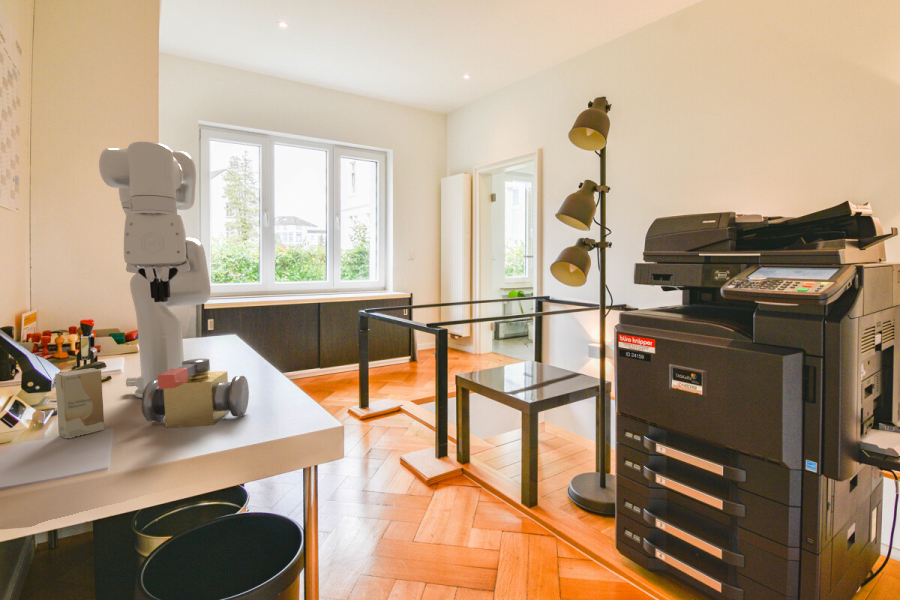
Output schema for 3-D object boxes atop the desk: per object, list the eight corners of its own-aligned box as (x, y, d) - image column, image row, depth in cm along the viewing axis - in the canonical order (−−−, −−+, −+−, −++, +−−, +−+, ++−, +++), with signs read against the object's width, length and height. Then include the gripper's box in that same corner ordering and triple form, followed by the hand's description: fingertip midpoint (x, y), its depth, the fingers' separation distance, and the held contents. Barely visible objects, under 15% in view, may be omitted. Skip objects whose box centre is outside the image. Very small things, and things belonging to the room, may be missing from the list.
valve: (142, 429, 89) (138, 381, 88) (165, 414, 98) (161, 371, 97) (236, 423, 91) (233, 377, 90) (250, 409, 100) (247, 367, 99)
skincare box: (66, 440, 84) (61, 376, 83) (58, 435, 86) (52, 373, 85) (107, 429, 89) (102, 369, 88) (97, 425, 92) (92, 366, 91)
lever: (189, 369, 96) (188, 358, 96) (213, 368, 96) (213, 357, 96) (152, 389, 81) (151, 375, 81) (181, 387, 82) (180, 374, 81)
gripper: (101, 204, 82) (108, 304, 82) (193, 206, 87) (200, 300, 87) (116, 211, 89) (123, 303, 89) (201, 212, 94) (206, 299, 94)
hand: (161, 301), depth 88 cm, fingers closed
